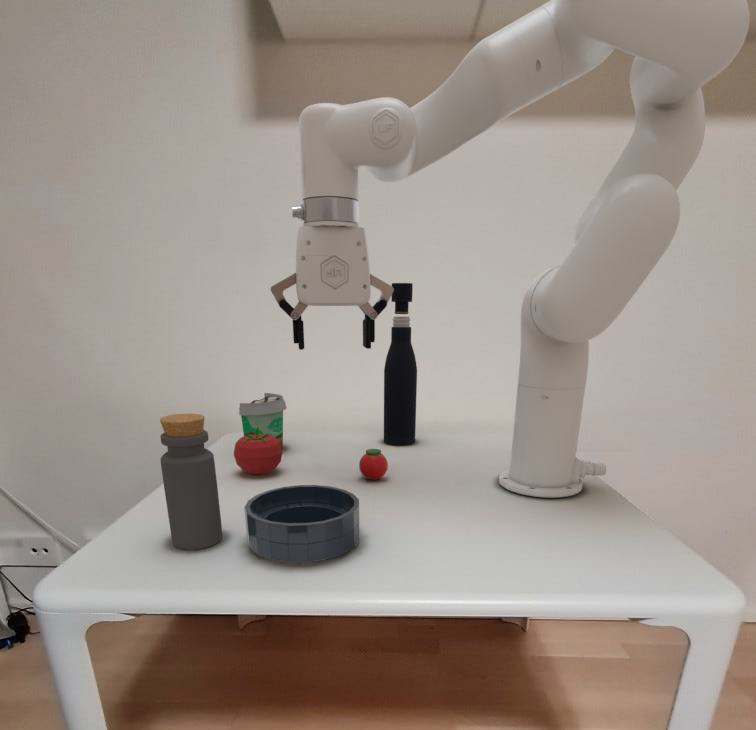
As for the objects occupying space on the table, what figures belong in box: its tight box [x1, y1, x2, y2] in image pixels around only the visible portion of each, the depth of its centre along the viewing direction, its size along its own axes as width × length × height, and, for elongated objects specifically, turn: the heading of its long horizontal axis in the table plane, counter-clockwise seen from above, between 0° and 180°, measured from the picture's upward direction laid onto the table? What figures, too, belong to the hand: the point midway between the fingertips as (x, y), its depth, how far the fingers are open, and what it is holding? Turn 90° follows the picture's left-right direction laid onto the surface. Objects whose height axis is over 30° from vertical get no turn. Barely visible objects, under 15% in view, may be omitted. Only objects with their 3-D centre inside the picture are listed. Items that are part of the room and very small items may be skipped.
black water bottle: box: [383, 282, 418, 447], centre depth 105 cm, size 6×6×30 cm
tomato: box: [233, 427, 283, 475], centre depth 90 cm, size 8×8×8 cm
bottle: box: [159, 413, 223, 551], centre depth 63 cm, size 6×6×15 cm
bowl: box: [244, 484, 361, 563], centre depth 65 cm, size 13×13×5 cm
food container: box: [238, 392, 287, 451], centre depth 102 cm, size 12×6×10 cm, turn 168°
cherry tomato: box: [358, 448, 389, 481], centre depth 87 cm, size 5×5×5 cm
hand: (334, 348), depth 80 cm, fingers open, 9 cm apart
